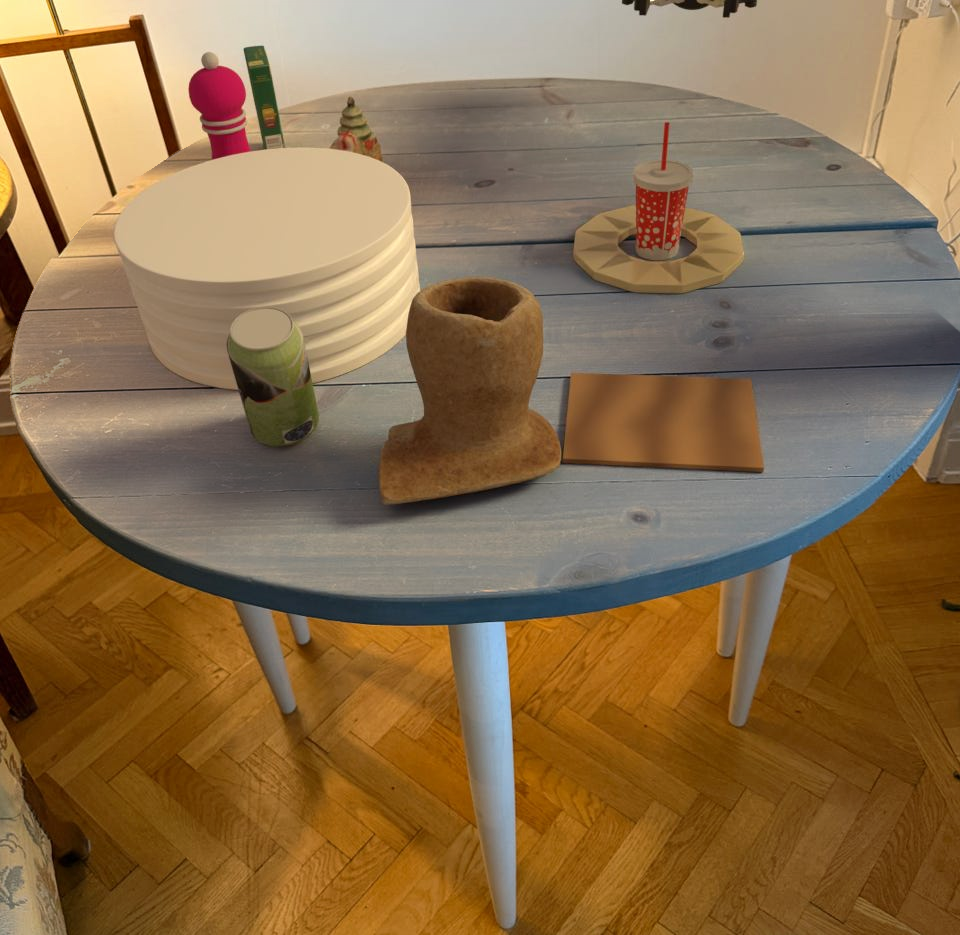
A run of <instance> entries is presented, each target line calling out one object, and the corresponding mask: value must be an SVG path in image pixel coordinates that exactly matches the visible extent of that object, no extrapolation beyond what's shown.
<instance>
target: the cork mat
mask: <svg viewBox="0 0 960 935" xmlns="http://www.w3.org/2000/svg"><path fill="white" fill-rule="evenodd" d="M569 378H570V380H569V388H568V400H567V408H566V410H567V411H566V420H565V428H564V429H565V430H564V440H563V453H562V463H563V464H579V465H581V464H582V465H584V464H585V465H604V466H623V467H644V468H645V467H646V468H665V469H666V468H667V469H687V470H707V471H708V470H709V471H731V472H749V473H750V472H751V473H764V470H765V465H764V464H765V463H764V458H763V451H762V444H761V437H760V430H759V424H758V416H757V410H756V409H757V408H756V402H755V397H754V396H755V395H754V390H753V388H754V387H753V380H752V379H751V378H742V377H741V378H738V377H711V376H709V377H708V376H707V377H705V376H681V375H680V376H679V375H650V374H648V375H647V374H625V373H624V374H619V373H592V372H591V373H589V372H571V373H570V377H569Z"/></svg>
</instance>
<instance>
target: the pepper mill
mask: <svg viewBox="0 0 960 935" xmlns="http://www.w3.org/2000/svg"><path fill="white" fill-rule="evenodd" d="M219 60H220V59H219V58H218V56H217V54H215V53H214V52H212V51H207V52H204V53H203V54H202V56H201V59H200V61H201V66H202V68H200V69H199V70H197V71H196V72H195V73H193V75H192V76H191V77H190V80H189V83H188V98H189V100H190V103H191V105H192V107H193V108H194V109H195V110H196V111H197V112H198V113H200V114H201V115H200V116H199V122H200V123H201V130H202V131H203V132H204V133H206V134H207V136H208V140H209V144H210V150H211V160H214V159H218V158H221V157H226V156H230V155H235V154H240V153H245V152H251V151H252V150H251V147H250V144H249V141H248V138H247V137H248V136H247V132H246V127H247V125H248V122H249V121H248V119H247V117H246V115H247V112H246V111H245V109H243V106H244V104H245V102H246V100H247V99H246V97H247V91H246V87H245V84H244V81H243V79H242V78H241V76H240V75H239V73H237V72H236V71H235V70H234V69H231V68H230V67H228V66H223V65H219V63H220V61H219Z"/></svg>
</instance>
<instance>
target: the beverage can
mask: <svg viewBox="0 0 960 935" xmlns="http://www.w3.org/2000/svg"><path fill="white" fill-rule="evenodd" d="M226 345H227V352H228V355H229V359H230V362H231V366H232V369H233V373H234V376H235V380H236V383H237V387H238V390H237V391H238V393H239V397H240V400H241V404H242V407H243V411H244V414H245V418H246V421H247V425H248V429H249V431H250V433H251V435H252V436H253V437H254V438H255V439H256V440H257V441H258V442H260V443H261V444H264V445H267V446H271V447H289V446H293V445H296V444H299V443H300V442H303V441H304V440H306V439H307V438H309V437H310V436H311V435H312V434H313V433H314V432H315V431H316V428H317V427H318V425H319V421H320V413H319V409H318V404H317V399H316V394H315V388H314V383H312V378H311V373H310V368H309V363H308V358H307V353H306V348H305V343H304V338H303V333H302V331H301V329H300V327H299V326H298V325H297V323H296V322H294V321H293V320H292V318H291V317H290V316H289V314H287V313H286V312H285V311H283V310H280V309H277V308H273V307H260V308H255V309H251V310H249V311H246V312H244V313H242V314H241V315H240V316H238V317H237V318H236V319H235V320H234V322H233V323H232V325H231V328H230V333H229V336H228V338H227V344H226Z"/></svg>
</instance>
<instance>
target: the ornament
mask: <svg viewBox="0 0 960 935" xmlns="http://www.w3.org/2000/svg"><path fill="white" fill-rule="evenodd" d="M346 104H347V106H345V107H344V108H343V109H342V110H341V117H340V118H339V124H340V126H339V127H338V128H337V133H336V134H337V136H338V137H337V138H336V139H335V140H334V141H333V142H332V143H331V145H330V147H329V149H336V150H343V151H348V152H353V153H358V154H361V155H365V156H368V157H371V158H374V159H376V160H379V161H381V162H383V163H384V160H383V156H382V149H381V148H382V147H381V144H380V143H379V141H378V139H377V134H376V132H374V131H372V127H371V126H370V125H369V124H368V120H367V117H365V116H364V115H363V110H362V109H361V108H360V107H358V106H357V105H356V104H355V99H354V98H353V97H352V96H351V95H350V96H348V98H347V100H346Z"/></svg>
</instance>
